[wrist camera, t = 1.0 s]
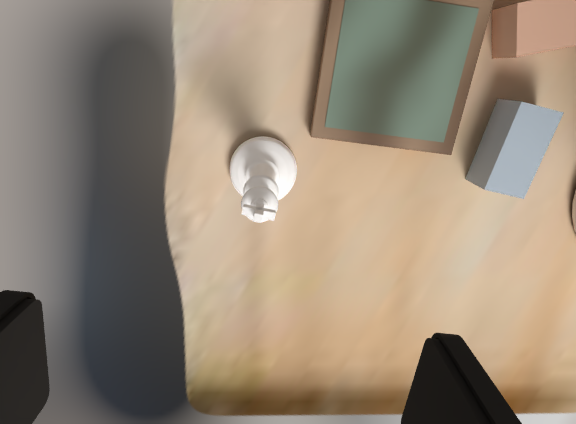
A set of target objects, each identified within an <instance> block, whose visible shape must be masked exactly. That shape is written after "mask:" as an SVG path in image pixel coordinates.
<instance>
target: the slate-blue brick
mask: <svg viewBox="0 0 576 424" xmlns="http://www.w3.org/2000/svg"><path fill="white" fill-rule="evenodd" d="M562 115H563V112H559V111H555V110H552V109H548V108H544V107H540V106H537V105H533V104H529V103H525V102H522V101H513V100H504V99H497V102H496V104H495V107H494V109H493V112H492V114H491V117H490V119H489V122H488V124H487V127H486V129H485V132H484V134H483V136H482V139H481V141H480V144H479V146H478V149H477V151H476V154H475V156H474V159H473V161H472V164H471V166H470V168H469V171H468V173H467V176H466V178H465V179H466V180H468V181H470V182H472V183H473V184H475V185H477V186H479V187H481V188H482V189H484V190H488V191H492V192H497V193H501V194H505V195H509V196H514V197H518V198H522V199H524V197H525V195H526V193H527V191H528V189H529V187H530V184H531V182H532V180H533V178H534V176H535V174H536V171H537V169H538V167H539V165H540V163H541V161H542V158H543V156H544V154H545V152H546V150H547V148H548V146H549V143H550V141H551V139H552V137H553V135H554V133H555V130H556V128H557V126H558V124H559V122H560V120H561V117H562Z"/></svg>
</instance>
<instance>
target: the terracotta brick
mask: <svg viewBox="0 0 576 424" xmlns="http://www.w3.org/2000/svg"><path fill="white" fill-rule="evenodd" d="M572 46H576V0H531V1H526V2H520V3H516V4H512V5H509V6H505V7H502V8H498V9H494V10H492V58H510V57H520V56H525V55H530V54H535V53H541V52H546V51H551V50H556V49H561V48H567V47H572Z"/></svg>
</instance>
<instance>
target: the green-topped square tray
mask: <svg viewBox="0 0 576 424" xmlns="http://www.w3.org/2000/svg"><path fill="white" fill-rule="evenodd" d="M493 1H494V0H330V3H329V9H328V16H327V23H326V30H325V36H324V43H323V50H322V56H321V63H320V70H319V76H318V83H317V90H316V96H315V103H314V110H313V116H312V123H311V130H310V136H311V137H314V138H322V139H330V140H338V141H346V142H353V143H361V144H369V145H377V146H384V147H392V148H400V149H408V150H416V151H423V152H431V153H439V154H447V155H451V154H452V150H453V146H454V143H455V139H456V135H457V132H458V128H459V124H460V121H461V117H462V114H463V110H464V106H465V103H466V99H467V95H468V92H469V88H470V85H471V81H472V77H473V74H474V70H475V66H476V63H477V59H478V56H479V52H480V48H481V45H482V41H483V37H484V34H485V30H486V26H487V23H488V19H489V16H490V12H491V8H492V5H493Z"/></svg>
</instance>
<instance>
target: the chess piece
mask: <svg viewBox="0 0 576 424" xmlns="http://www.w3.org/2000/svg"><path fill="white" fill-rule="evenodd" d="M296 175H297V164H296V160H295V157H294V155H293V153H292V152H291V150H290V149H289V148H288V147H287V146H286V145H285V144H284V143H282V142H281V141H279V140H277V139H275V138H271V137H265V136H261V137H254V138H251V139H249V140H247V141H245V142H243V143H242V144H241V145H240V146H239V147H238V148H237V149H236V150H235V152H234V154H233V156H232V158H231V161H230V177H231V181H232V183H233V185H234V187H235V189H236V190H237V191H238V193H239V194H240V195H242V196H243V198H242V201H241V207H242V215H246V217H248V218H249V219H250V220H253V221H254V222H259V223H262V222H264V221H267V220H272V221H274V219H275V214H276V212H277V209H278V200H280V199H281V198H283V197H284V196H285V195H286V194H287V193H288V192H289V191H290V190H291V188H292V187H293V185H294V182H295V179H296Z"/></svg>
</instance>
